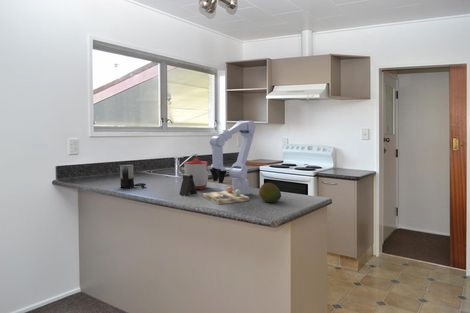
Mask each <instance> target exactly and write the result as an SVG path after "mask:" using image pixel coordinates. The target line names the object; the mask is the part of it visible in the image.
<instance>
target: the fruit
mask: <svg viewBox="0 0 470 313" xmlns="http://www.w3.org/2000/svg"><path fill="white" fill-rule="evenodd" d="M258 194H259V197H260V199H261V200H263V201H265V202H267V203H276V202H278V201H279V200H281V197H282V193H281V191H280V188H279V187H278V186H277V185H276V184H274V183H272V182H265V183H263V184H261V186H260V188H259V190H258Z"/></svg>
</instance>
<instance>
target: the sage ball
mask: <svg viewBox="0 0 470 313" xmlns="http://www.w3.org/2000/svg"><path fill="white" fill-rule="evenodd" d="M235 194H236V195H237V196H240V195H241V190H239V189H238V190H236V191H235Z"/></svg>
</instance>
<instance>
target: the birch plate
mask: <svg viewBox="0 0 470 313" xmlns="http://www.w3.org/2000/svg"><path fill="white" fill-rule="evenodd" d="M222 195H226V196H227V198H221V196H222ZM202 197H203V198H205V199H207V200H209V201H211V202H213V203H215V204H217V205H225V204H232V203H240V202H249V201H250V197H249V196H247V195H242V194H241V195H240V196H237V195H236V194H235V192H233V191H232V192H228V191H227V190H224V191H214V192H213V191H211V192H205V193H202Z"/></svg>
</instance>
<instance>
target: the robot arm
mask: <svg viewBox="0 0 470 313" xmlns="http://www.w3.org/2000/svg"><path fill="white" fill-rule="evenodd" d="M255 131H256V123H255V122H254V120H238V121H237V122H236V123H235V124H234V125H233V126H232V127H231V128H229V129H222V131H221V132H220V133H217V134H216V135H214V136H212V137H211V138H210V141H209V145H210V146H211V151H212V152H211V153H212V154H211V155H212V164H210V168H211V169H210V170H209V171H210V173H211V176H212V181H213V182H218V183H219V184H223V183H224V181H225V177H226V173H227V172H228V175H229V177H230V180H231V181H232V182H231V183H232V184H231V185H232V186H231V187H232V188H233V192H235V191H236V190H238V189H239V190H241V194H242V195H245V196H247V195H250V181H249V180H248V179H247V176H248V171H249V168H248V166H247V165H246V163H247V159H248V156H249V153H250V150H251V147H252V144H253V143H252V142H253V140H254V134H255ZM238 132H239V133H240V135H241V136H242V137H243V139H242V142H241V146H240V149H239V152H238V155H237V159H236V162H234V163H233V164H231V165H232V166H231V168H230V169H229V170H228V171H227V170H226V167H225V166H224V156H223V155H224V154H223V153H224V151H223V150H224V148H223V147H224V146H225V143H226V142H228V141H230V140H231V139H232V137H233V135H234V134H237V133H238Z"/></svg>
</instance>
